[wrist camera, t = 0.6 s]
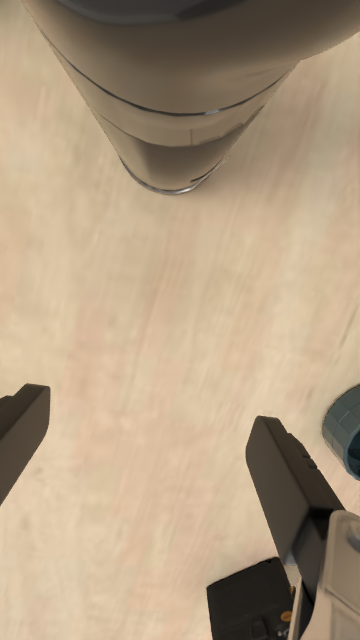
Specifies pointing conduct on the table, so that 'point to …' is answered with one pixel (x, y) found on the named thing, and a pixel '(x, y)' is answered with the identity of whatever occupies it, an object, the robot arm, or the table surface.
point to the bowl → (345, 431)
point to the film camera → (252, 604)
